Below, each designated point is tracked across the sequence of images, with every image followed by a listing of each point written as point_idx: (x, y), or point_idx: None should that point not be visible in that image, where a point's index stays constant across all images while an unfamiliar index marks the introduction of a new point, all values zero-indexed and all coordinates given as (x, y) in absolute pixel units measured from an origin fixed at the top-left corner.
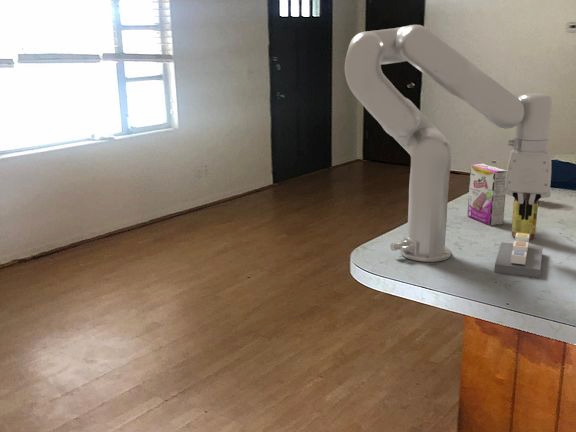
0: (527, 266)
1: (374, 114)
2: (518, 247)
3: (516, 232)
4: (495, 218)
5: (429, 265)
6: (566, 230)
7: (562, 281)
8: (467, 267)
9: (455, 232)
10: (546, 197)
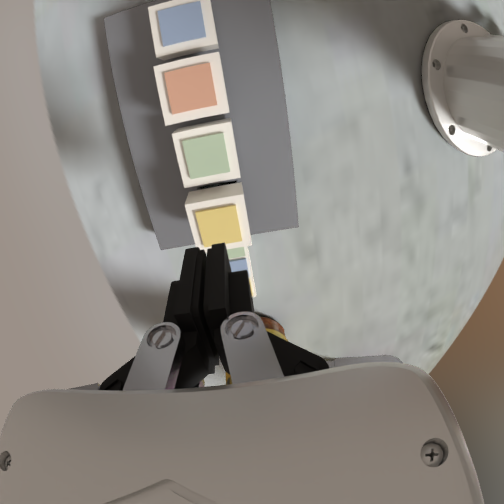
0: (148, 17)
1: None
2: (192, 57)
3: (271, 329)
4: None
5: (442, 2)
6: None
7: (56, 45)
8: (353, 3)
9: (416, 287)
10: (73, 388)
